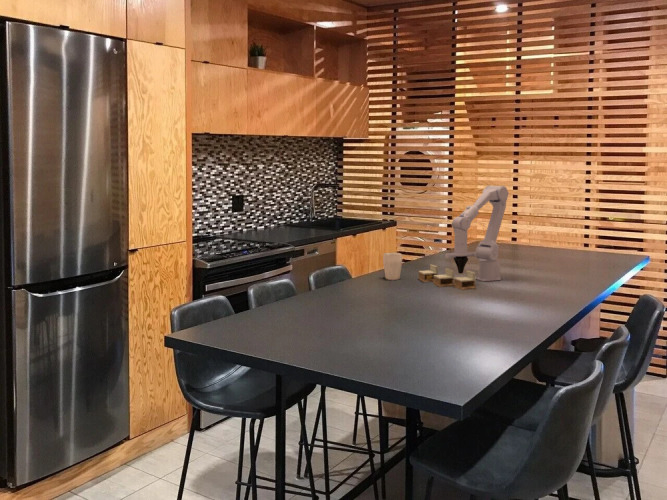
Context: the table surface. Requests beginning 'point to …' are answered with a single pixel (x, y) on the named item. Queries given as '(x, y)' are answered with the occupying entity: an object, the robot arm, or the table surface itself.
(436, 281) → the crates
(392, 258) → the cup
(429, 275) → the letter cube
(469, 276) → the lid
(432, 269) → the lid
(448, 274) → the lid
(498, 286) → the table surface
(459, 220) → the robot arm
